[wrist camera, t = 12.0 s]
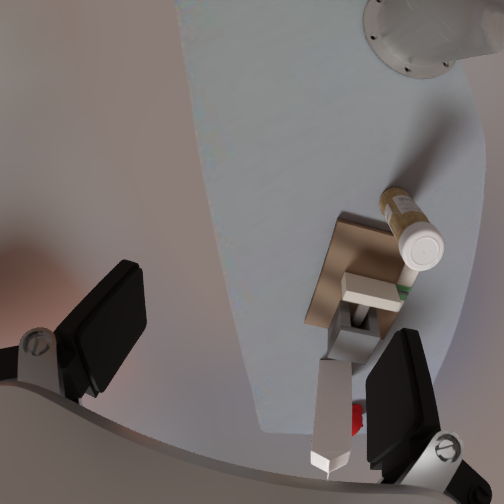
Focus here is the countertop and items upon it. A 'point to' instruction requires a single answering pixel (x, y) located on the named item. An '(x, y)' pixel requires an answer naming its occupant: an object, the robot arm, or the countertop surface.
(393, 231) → the sprinkles bottle
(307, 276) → the countertop surface
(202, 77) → the countertop surface
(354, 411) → the cap
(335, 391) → the milk
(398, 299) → the spring plunger
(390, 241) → the gauge frame
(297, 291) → the countertop surface
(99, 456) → the robot arm
